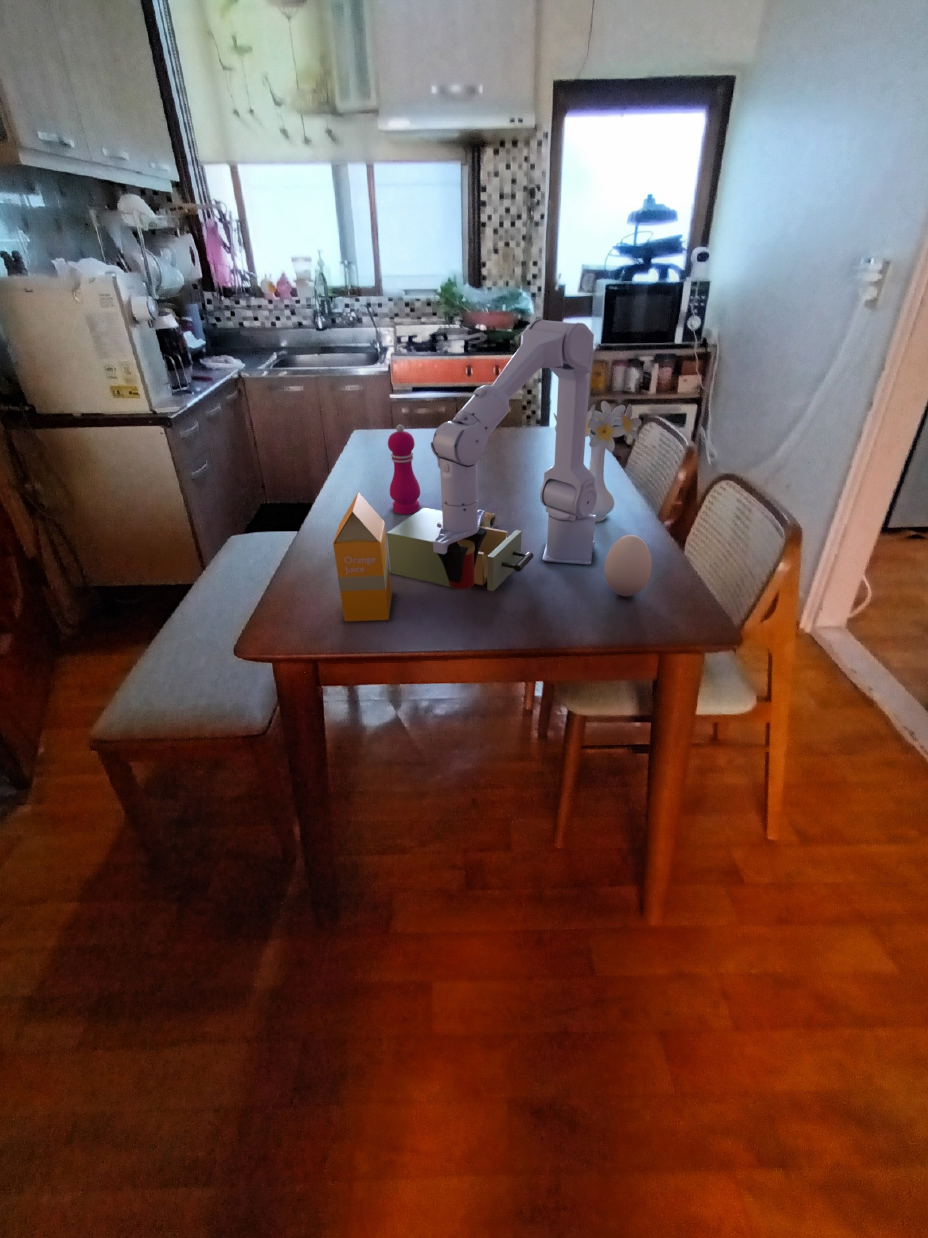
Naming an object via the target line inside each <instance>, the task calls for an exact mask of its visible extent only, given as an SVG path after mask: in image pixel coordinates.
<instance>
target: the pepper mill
mask: <svg viewBox="0 0 928 1238" xmlns="http://www.w3.org/2000/svg"><path fill="white" fill-rule="evenodd" d="M395 430H396V431H394V432H392V433H390V435H389V436H388V439H387V448H388V449H389V451H390V452H391V454H390V456H391V461H392V462H393V476H392V480H391V482H390V485H389V496H390V498H391V499H392V500H393V502H392V509H393V512H394V513H396V514H400V515H410V514H415V513H417V512H418V511H420V501H419V500H418V499H419V497H420V496H421V486H420V484H419V481H418V480H417V477H416V475H415V473H414V470H413V469H414V468H413V460H414V453H413V450H414V448H415V445H416V444H415V439H414V436H413V435H412V434H411V433H410V432H409V431H405V427H404V424H400V423H399V424H398V425H396V427H395Z"/></svg>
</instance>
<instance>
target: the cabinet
mask: <svg viewBox="0 0 928 1238" xmlns="http://www.w3.org/2000/svg"><path fill="white" fill-rule="evenodd" d="M442 519H443V517H442V510H441V509H434V508H429V507H423V508H421V509H419V510H418V511H417V512H415V513H413V514H412V515H411V516H409V517H408V518H406V519H405V520H403V521H401V522H400V523H399V524H397V525H396V526H394V527H393V528H392V529H390V530H388V531H387V532H386V539H387V549H388V559H389V570H390V574H394V575H396V576H402V577H405V578H410V579H413V580H418V581H422V582H425V583H426V582H427V583H431V584H434V585H440V586H443V587H447V588H453V587H451V586H450V585H449V580H448V577H447V574H446V571H445V568H444V566H443V563H442V561H441V559H440V557H439V556H438V554H437V553H436V552H434V551H433V541H434V540H435V539H436V538H437V536H438V533H439V531H440V528H439V527H437V523H438V522H439V521H440V520H442ZM480 526H483V527H484V522H483V523H480Z"/></svg>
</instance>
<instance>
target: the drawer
mask: <svg viewBox="0 0 928 1238" xmlns="http://www.w3.org/2000/svg"><path fill="white" fill-rule="evenodd" d="M480 528H484V529H486V535H485V537H484V539H483V541H482V543H481V546H480V548H479V552H478V556H477V560H476V564H475V568H474V585H479V586H484V584H486V583H487V591H491V592H495V591H496V589H497V588H499V586H500V585H501V584H502V583H503V582H504V581H505V580H506V579H507V578H508V577H509V576H510V575H511V574H512V573H513V571H515V572H516V573H520V572H522V570H523V569H524V568H525V567H526V566H527V565H528V563H530V562H531V561H532V559H534V553H533V552H532V551H527V552H522V530H518V529H515V530H514V531H513V532H512V533H511V534H510V535H509V531H508V530H504V529H498V528H488V527H483V526H480Z"/></svg>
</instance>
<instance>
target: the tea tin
mask: <svg viewBox="0 0 928 1238" xmlns="http://www.w3.org/2000/svg"><path fill="white" fill-rule="evenodd" d="M458 544H459V546H463V547H468V548H469V549H468V550H467V552H466V555H465V558H464V562H463V571H462V579H461V582H460V583H455V582H451V581H449V585H450V586H451V587H452V588H453V589H456V590H466V589H470V588H472V587H473V586H474V585H475V583H474V550H475V545H474V543H473V542H472V541H469V540H463V539H461V540H459V541H458ZM451 587H450V588H451Z"/></svg>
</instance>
